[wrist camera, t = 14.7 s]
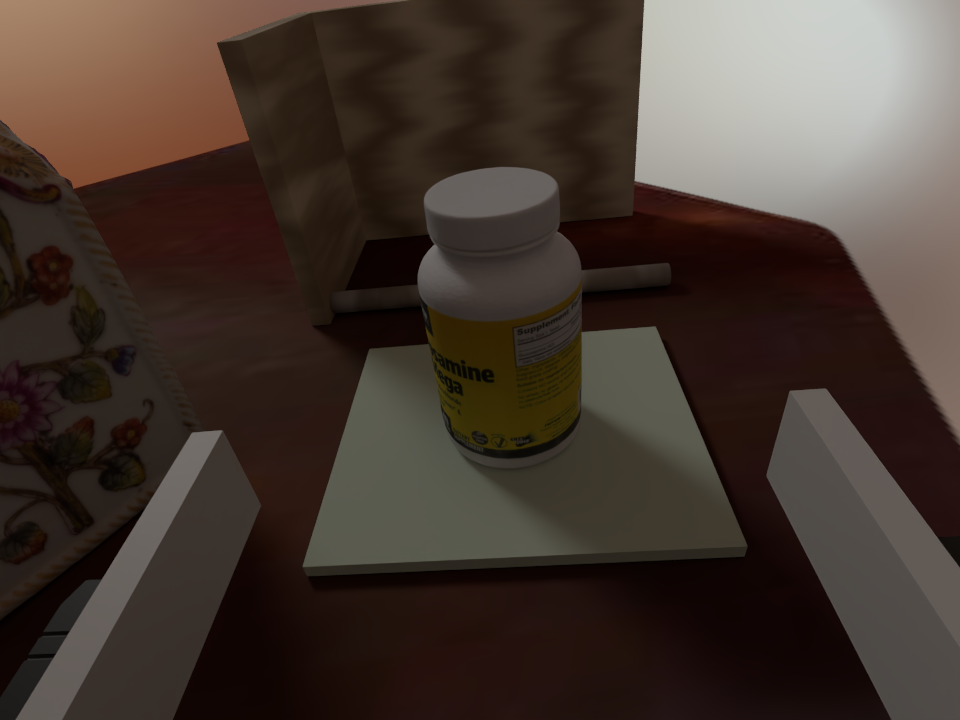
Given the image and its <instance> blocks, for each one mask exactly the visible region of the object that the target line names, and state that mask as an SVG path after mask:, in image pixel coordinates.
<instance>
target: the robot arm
mask: <svg viewBox="0 0 960 720" xmlns="http://www.w3.org/2000/svg"><path fill="white" fill-rule="evenodd" d="M766 476H767V478H768V480H769V482H770V484H771V486H772V488H773V490H774V492H775V494H776V496H777V498H778V499H779V501H780V503H781V505H782V507H783V509H784V511H785V513H786V515H787V517H788V519H789V521H790V523H791V525H792V527H793V529H794V531H795V533H796V535H797V536H798V538H799V540H800V542H801V544H802V546H803V548H804V550H805V552H806V554H807V556H808V558H809V560H810V562H811V564H812V566H813V568H814V570H815V572H816V574H817V575H818V577H819V579H820V581H821V583H822V585H823V587H824V589H825V591H826V593H827V595H828V597H829V599H830V601H831V603H832V605H833V607H834V609H835V611H836V612H837V614H838V616H839V618H840V620H841V622H842V624H843V626H844V628H845V630H846V632H847V634H848V636H849V638H850V640H851V642H852V644H853V646H854V648H855V650H856V651H857V653H858V655H859V657H860V659H861V661H862V663H863V665H864V667H865V669H866V671H867V673H868V675H869V677H870V679H871V681H872V683H873V685H874V687H875V689H876V690H877V692H878V694H879V696H880V698H881V700H882V702H883V704H884V706H885V708H886V710H887V712H888V714H889V716H890V718H891V720H960V536H956V537H936V535H935V534H934V533H933V531H932V530H931V529H930V527H929V526H928V525H927V523H926V522H925V521H924V519H923V518H922V517H921V515H920V514H919V512H918V511H917V510H916V508H915V507H914V506H913V504H912V503H911V502H910V500H909V499H908V498H907V496H906V495H905V494H904V492H903V491H902V490H901V488H900V487H899V486H898V484H897V483H896V482H895V480H894V479H893V478H892V476H891V475H890V474H889V472H888V471H887V470H886V468H885V467H884V466H883V464H882V463H881V462H880V460H879V459H878V458H877V456H876V455H875V454H874V452H873V451H872V450H871V448H870V447H869V446H868V444H867V443H866V442H865V440H864V439H863V438H862V436H861V435H860V434H859V432H858V431H857V430H856V428H855V427H854V426H853V424H852V423H851V422H850V420H849V419H848V417H847V416H846V415H845V413H844V412H843V411H842V409H841V408H840V407H839V405H838V404H837V403H836V401H835V400H834V399H833V397H832V396H831V395H830V393H829V392H828V391H827V389H812V390H797V391H790V392H789V396H788V399H787V403H786V407H785V410H784V414H783V418H782V421H781V425H780V428H779V432H778V436H777V439H776V443H775V446H774V450H773V454H772V457H771V461H770V464H769V468H768V472H767V475H766ZM260 507H261V504H260V502H259V500H258V498H257V496H256V494H255V492H254V490H253V488H252V486H251V484H250V482H249V481H248V479H247V477H246V475H245V473H244V471H243V469H242V467H241V465H240V463H239V461H238V459H237V457H236V455H235V453H234V451H233V450H232V448H231V446H230V444H229V442H228V440H227V438H226V436H225V434H224V432H223V430H222V431H208V432H194V433H192V434H191V435H190V437H189V439H188V440H187V442H186V444H185V445H184V447H183V448H182V450H181V452H180V453H179V455H178V457H177V458H176V460H175V461H174V463H173V465H172V466H171V468H170V470H169V471H168V473H167V474H166V476H165V478H164V479H163V481H162V483H161V484H160V486H159V487H158V489H157V491H156V492H155V494H154V496H153V497H152V499H151V500H150V502H149V504H148V505H147V507H146V509H145V510H144V512H143V513H142V515H141V517H140V518H139V520H138V522H137V523H136V525H135V526H134V528H133V530H132V531H131V533H130V535H129V536H128V538H127V539H126V541H125V543H124V544H123V546H122V548H121V549H120V551H119V552H118V554H117V556H116V557H115V559H114V561H113V562H112V564H111V565H110V567H109V569H108V570H107V572H106V574H105V575H104V577H103V578H102V579H99V580H86V581H85V582H84V583H83V584H82V585H81V586H80V587H79V588H78V589H76V590H75V591H74V592H73V593H72V594H71V595H70V596H69V597H68V598H67V599H66V600H65V601H64V602H63V603H62V604H61V605H60V607H59V608H58V610H57V611H56V613H55V614H54V616H53V617H52V619H51V621H50V622H49V624H48V625H47V627H46V628H45V630H44V631H43V633H44V634H43V636H42V637H39V639H38V640H37V642H36V643H35V645H34V647H33V648H32V650H31V651H30V653H29V654H28V655H29V658H28V659H27V660H24V662H23V663H22V665H21V666H20V668H19V670H18V671H17V673H16V674H15V676H14V677H13V679H12V680H11V682H10V683H9V685H8V686H7V688H6V689H5V691H4V692H3V694H2V696H1V697H0V720H173V718H174V715H175V713H176V710H177V708H178V706H179V703H180V701H181V698H182V696H183V694H184V691H185V689H186V686H187V684H188V681H189V679H190V677H191V674H192V672H193V669H194V667H195V664H196V662H197V660H198V657H199V655H200V652H201V650H202V648H203V645H204V643H205V640H206V638H207V635H208V633H209V631H210V628H211V626H212V623H213V621H214V618H215V616H216V614H217V611H218V609H219V606H220V604H221V601H222V599H223V597H224V594H225V592H226V589H227V587H228V585H229V582H230V580H231V577H232V575H233V572H234V570H235V568H236V565H237V563H238V560H239V558H240V555H241V553H242V551H243V548H244V546H245V543H246V541H247V538H248V536H249V534H250V531H251V529H252V526H253V524H254V522H255V519H256V517H257V514H258V512H259V509H260Z"/></svg>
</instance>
